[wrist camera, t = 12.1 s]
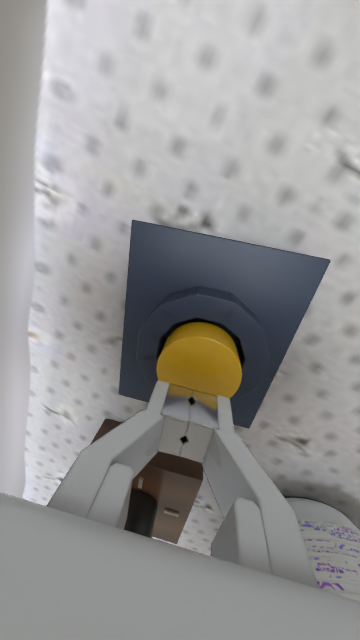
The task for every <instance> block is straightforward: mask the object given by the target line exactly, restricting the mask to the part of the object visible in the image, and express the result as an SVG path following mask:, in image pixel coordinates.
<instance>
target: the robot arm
mask: <svg viewBox="0 0 360 640" xmlns="http://www.w3.org/2000/svg"><path fill="white" fill-rule="evenodd" d="M157 451H160V452H164V453H168V454H172V455H176V456H180V457H184V458H187V459H190V460H193V461H197V462H200V463H202V466H203V469H204V471H205V474H206V476H207V479H208V481H209V484H210V486H211V489H212V491H213V494H214V496H215V499H216V501H217V504H218V506H219V509H220V511H221V514H222V516H223V519H224V521H223V523H222V525H221V527H220V529H219V530H218V532H217V534H216V536H215V538H214V540H213V541H212V543H211V556H209V555H205V554H202V553H199V552H196V551H192V550H189V549H186V548H182V547H179V546H176V545H173V544H169V543H166V542H163V541H159V540H156V539H153V538H150V537H146V536H143V535H140V534H136V533H133V532H130V531H127V530H124V527H125V523H126V520H127V514H128V507H129V501H130V494H131V487H132V480H133V479H134V477H135V476H136V475H137V474H138V473H139V472H140V471H141V470H142V469H143V468H144V466H145V465H146V464H147V463H148V462H149V461H150V460H151V459H152V458H153V457H154V455H155V454H156V453H157ZM0 640H360V601H357V600H353V599H350V598H347V597H344V596H340V595H337V594H334V593H330V592H327V591H324V590H321V589H319V587H318V584H317V581H316V578H315V574H314V571H313V568H312V565H311V562H310V559H309V556H308V552H307V549H306V546H305V543H304V540H303V537H302V534H301V530H300V527H299V524H298V521H297V518H296V515H295V512H294V510H293V509H292V507H291V506H290V505H289V503H288V502H287V500H286V499H285V498H284V496H283V495H282V494H281V492H280V491H279V489H278V488H277V487H276V485H275V484H274V483H273V481H272V480H271V479H270V477H269V476H268V474H267V473H266V472H265V470H264V469H263V468H262V466H261V465H260V464H259V462H258V461H257V459H256V458H255V457H254V455H253V454H252V453H251V451H250V450H249V448H248V447H247V446H246V444H245V443H244V442H243V440H242V439H241V438H240V436H239V435H237V434H235V433H234V426H233V418H232V411H231V404H230V399H229V397H224V396H220V395H215V394H210V393H206V392H202V391H198V390H194V389H190V388H186V387H183V386H179V385H175V384H172V383H167V382H163V381H160V380H158V381H157V382H156V385H155V388H154V390H153V393H152V395H151V398H150V400H149V403H148V406H147V408H146V411H144V410H141V411H139V412H138V413H136V414H135V415H133V416H132V417H130V418H129V419H128V420H126V421H125V422H123V423H122V424H120V425H119V426H117V427H116V428H114V429H113V430H111V431H110V432H108V433H107V434H105V435H104V436H102V437H101V438H99V439H98V440H96V441H95V442H94V443H92V444H91V445H89V446H88V447H86V448H85V449H83V450H82V451H81V452H80V454H79V455H78V457H77V458H76V460H75V462H74V463H73V465H72V466H71V468H70V470H69V471H68V473H67V474H66V476H65V477H64V479H63V481H62V482H61V484H60V485H59V487H58V489H57V490H56V492H55V493H54V495H53V497H52V498H51V500H50V501H49V503H48V505H47V506H44V505H41V504H38V503H34V502H31V501H28V500H24V499H21V498H18V497H15V496H11V495H8V494H5V493H1V492H0Z"/></svg>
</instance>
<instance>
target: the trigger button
mask: <svg viewBox="0 0 360 640" xmlns="http://www.w3.org/2000/svg"><path fill="white" fill-rule="evenodd" d="M156 369H157V376H158V380H160V381H163V382H167V383H172V384H175V385H179V386H183V387H186V388H190V389H194V390H198V391H202V392H206V393H210V394H215V395H220V396H224V397H229V399H230V398H231V397H232V396H233V395H234V394H235V393H236V391H237V390H238V388H239V386H240V383H241V380H242V368H241V364H240V360H239V356H238V352H237V348H236V345H235V343H234V341H233V339H232V338H231V336H230V335H229V334H228V333H227V332H226V331H224V330H223V329H221V328H220V327H218V326H216V325H213V324H210V323H205V322H192V323H188V324H185V325H182V326H180V327H178V328H177V329H175V330H174V331H173V332H172V333H171V334H170V335H169V337H168V338H167V340H166V343H165V345H164V347H163V349H162V352H161V354H160V356H159V359H158V362H157V368H156Z"/></svg>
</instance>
